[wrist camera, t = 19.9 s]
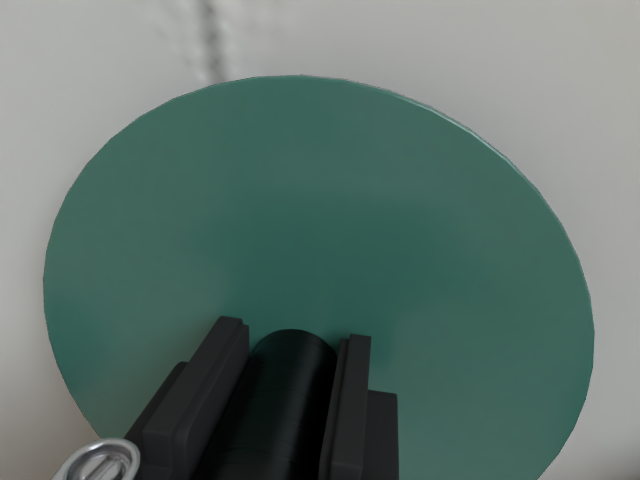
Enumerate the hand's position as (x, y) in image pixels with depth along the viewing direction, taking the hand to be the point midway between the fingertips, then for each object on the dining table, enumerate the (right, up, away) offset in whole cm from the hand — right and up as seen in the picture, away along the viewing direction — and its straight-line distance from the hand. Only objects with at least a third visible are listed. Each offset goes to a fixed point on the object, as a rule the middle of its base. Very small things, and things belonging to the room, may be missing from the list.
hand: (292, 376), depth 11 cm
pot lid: (0, 0, +1) cm, 1 cm away
